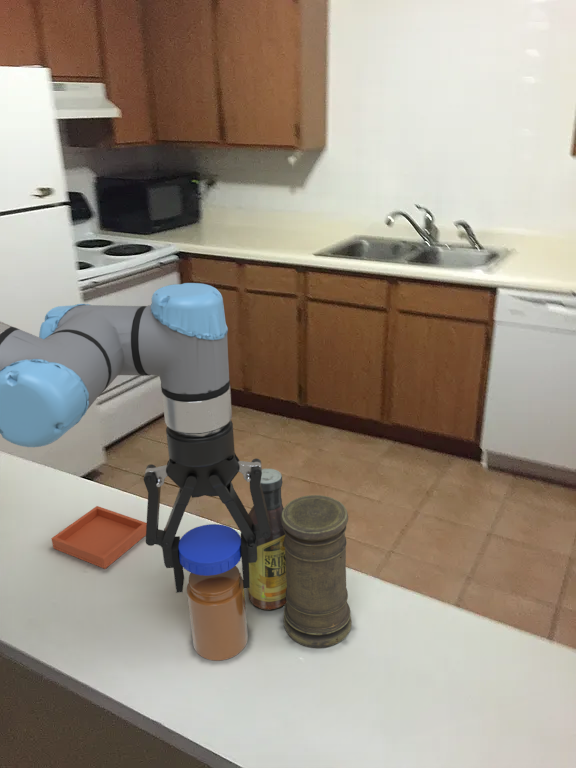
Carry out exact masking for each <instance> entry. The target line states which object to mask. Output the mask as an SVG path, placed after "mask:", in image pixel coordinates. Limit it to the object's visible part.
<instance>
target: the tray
mask: <svg viewBox="0 0 576 768" xmlns="http://www.w3.org/2000/svg"><path fill="white" fill-rule="evenodd" d="M146 525H147V522H146V521H142V520H139V519H137V518H134V517H131V516H128V515H125V514H122V513H118V512H117V511H113V510H110V509H108V508H104V507H101V506H99V505H96V506H95V507H93V508H92V509H90V510H89V511H88V512H86V513H85V514H83V515H82V516H80V517H79V518H77V519H76V520H75V521H73V522H72V523H71V524H69V525H68V526H66V527H65V528H64V529H62V530H61V531H59V532H58V533H56V534H55V535H54V536H53V537H51V544H52V549H54V550H56V551H59V552H61V553H64V554H67V555H69V556H71V557H73V558H76V559H79V560H82V561H84V562H86V563H90V564H92V565H94V566H96V567H98V568H101V569H104V570H106V569H107V568H109V566H111V565H112V564H113V563H114V562H115V561H117V560H118V559H119V558H120V557H122V556H123V555H124V554H126V553H127V552H128V551H129V550H130V549H131V548H132V547H134V546H135V545H136V544H137V543H139V542H140V541H141V540H142V539H144V538H145V537H146Z"/></svg>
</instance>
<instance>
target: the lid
mask: <svg viewBox="0 0 576 768" xmlns="http://www.w3.org/2000/svg"><path fill="white" fill-rule="evenodd" d="M178 549H179V558H180V564H181V565H182V566H183V570H186V571H187V572H189V573H193V574H197V575H205V576H209V575H217V574H221V573H224V572H226V571H228V570H230V569H232V568H233V567H234V566H236V567H237V565H238V564H239V562H240V561H241V560H242V557H241V534H239V532H238V531H237V530H235V529H234V528H233V527H230V526H227V525H225V524H218V523H210V524H203V525H199V526H196V527H193V528H191V529H190V530H188V531H186V532H185V533H184V534H183V535H182V536H181V537H180V541H179V546H178Z"/></svg>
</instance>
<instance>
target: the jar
mask: <svg viewBox="0 0 576 768" xmlns="http://www.w3.org/2000/svg"><path fill="white" fill-rule="evenodd" d="M186 597H187V604H188V610H189V611H188V613H189V621H190V628H191V629H190V630H191V636H192V645H193V648H194V650H195V652H196V653H197V654H198V655H199V656H200V657H202V658H204V659H206V660H209V661H216V662H217V661H224V660H225V661H226V660H229V659H231V658H234V657H235V656H237V655H239V654H240V653H242V651H243V650H244V649H245V647H246V646H247V644H248V640H249V635H248V622H247V621H248V620H247V610H246V609H247V608H246V596H245V589H244V587H243V576H242V574H241V572H240V570H239V568H238V566H237V565H236V566H234V567H233V568H232V569H230V570H228V571H226V572H224V573H221V574H217V575H209V576H205V575H197V574H193V573H191V572H189V575H188V583H187V585H186Z"/></svg>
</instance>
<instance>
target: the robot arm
mask: <svg viewBox="0 0 576 768" xmlns="http://www.w3.org/2000/svg"><path fill="white" fill-rule="evenodd" d="M228 332H229V328H228V326H227V323H226V315H225V307H224V298H223V295H222V293H221V292H220V291H219V290H218V289H217V288H216V287H214V286H212V285H210V284H206V283H202V282H201V283H200V282H184V283H179V284H178V283H175V284H174V283H173V284H168V285H164V286H162V287H160V288H158V289H156V290H155V291H154V292H153V293H152V296H151V303H150V304H149V305H109V304H108V305H105V304H104V305H101V304H98V305H97V304H89V303H77V304H75V305H74V304H72V305H71V304H70V305H58V306H54V307H52V308H51V309H50V310H49V311H47V312H46V314H45V315H44V321H43V322H41V325H40V327H39V333H38V336H37V335H35V334H32V333H30V332H27V331H25V330H23V329H20V328H17V327H15V326H12V325H10V324H8V323H6V322H4V321H1V320H0V435H1V437H2V438H3V439H4V440H6V441H7V442H9V443H11V444H13V445H17V446H19V447H24V448H41V447H45V446H48V445H50V444H53V443H55V442H56V441H58V440H59V439H60V438H62V436H64V435H65V434H66V433H68V431H70V430H71V429H72V428H73V427H75V425H78V424H79V423H80V422H81V420H82V418H83V417H84V416H85V415H86V413H87V411H88V410H89V408H90V407H91V406H92V405H93V404H94V403H95V401H96V400H97V399H98V398H99V397H100V396H101V394H102V393H104V392H105V391H106V390H107V388H108V387H109V386H110V385H111V384H112V383H113V382H114V380H116V378H117V377H118V376H143V377H145V376H147V377H148V376H159V381H160V389H161V398H162V407H163V415H164V423H165V425H166V428H165V433H166V443H167V452H168V461H167V463H166V464H165V465H160V466H156V465H155V464H152V463H151V464H148V465H147V466H146V468H145V472H144V475H143V482H144V485H145V488H146V491H147V507H146V508H147V509H146V510H147V511H146V523H147V525H146V536H145V544H146V545H147V546H150V547H152V546H155V545H156V546H159V547H160V548H161V549H162V556H163V565H164V567H165V568H166V569H173V577H174V584H175V593H176V594H180V593H183V591H184V584H185V574H184V573H185V572H184V567H183V566H182V565H181V564H180V558H179V549H178V546H179V541H180V539H181V537H180V535H179V536H178V535H177V533H178V530H179V527H180V524H181V523H182V520H183V516H184V514H185V511H186V510H187V506H188V505H189V504H190V503H189V502H190V500H191V498H192V499H193V498H200V497H205V496H207V497H218V498H219V499H220V502H221V503H222V504H224V506H225V507H226V510H228V512H229V515H230V516H231V517H232V519H233V521H234V523H235V524H236V526H237V528H238V530H239V531H240V537H241V570H242V571H241V572H242V579H243V587H244V590H246V589H248V588H250V582H249V563H255V562H256V561H257V541H258V540H259V539H260V538H264V539H267V538H269V537H270V536H271V530H270V520H269V516H268V511H267V507H266V503H265V498H264V494H263V490H262V486H261V476H262V469H263V468H262V466H263V465H262V460H261V459H260V458H253V459H252V460H251V461H245V460H240V459H239V457H238V456H237V453H236V450H235V437H234V423H233V421H232V419H233V408H232V391H231V383H230V366H229V365H230V364H229V349H228V348H229V346H228ZM239 473H241V475H243V476H242V478H243V480H244V481H246V482H247V483H249V492H250V496H251V500H252V505H253V506H254V509H255V513H256V517H257V521H258V524H255V525H254V523H253V521H252V520H251V518H250V516H249V512H248V511H247V508H246V507H245V506H244V504H243V502H242V500H241V499H240V497H239V495H238V493H237V492H236V490H235V487H234V485H233V482H232V481H233V480H234V479H235V478H236V476H237V475H238V474H239ZM167 477H168V478H169V479H170V480H171V481H172V482H173V483H174V484H175V485H176V486H177V487H178V492H177V495H176V497H175V500H174V502H173V506H172V508H171V511H170V513H169V516H168V519H167V522H166V524H165V527H164V528H163V529H159V522H160V521H159V519H160V507H161V505H160V504H161V489H162V486H163V485H164V484H165V480H166V478H167ZM176 535H177V536H176Z"/></svg>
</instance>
